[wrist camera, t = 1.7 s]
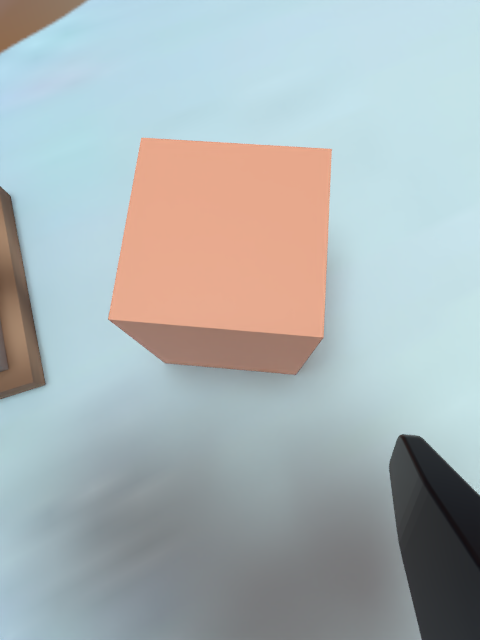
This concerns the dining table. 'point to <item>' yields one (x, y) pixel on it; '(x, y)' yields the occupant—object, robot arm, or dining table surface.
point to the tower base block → (16, 312)
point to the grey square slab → (2, 352)
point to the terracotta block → (225, 254)
